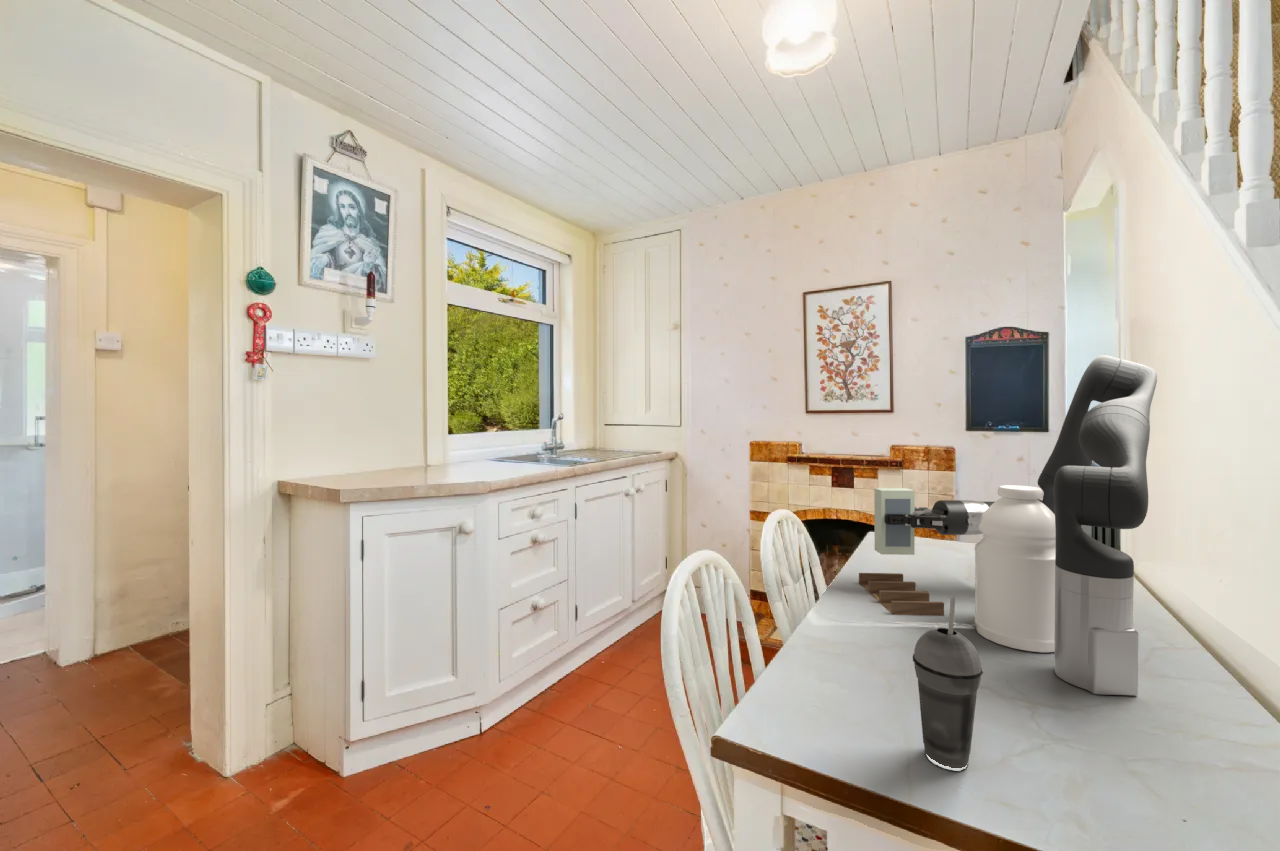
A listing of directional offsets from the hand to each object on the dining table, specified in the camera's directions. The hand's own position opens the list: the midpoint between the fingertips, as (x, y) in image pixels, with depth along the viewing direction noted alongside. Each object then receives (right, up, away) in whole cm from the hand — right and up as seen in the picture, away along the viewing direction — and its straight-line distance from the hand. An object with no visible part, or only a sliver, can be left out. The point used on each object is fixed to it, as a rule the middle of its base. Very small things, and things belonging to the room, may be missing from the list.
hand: (881, 517), depth 117 cm
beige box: (+3, -8, 0) cm, 8 cm away
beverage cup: (-17, -20, -54) cm, 60 cm away
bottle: (+17, -19, -19) cm, 32 cm away
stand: (+3, -19, -1) cm, 19 cm away
